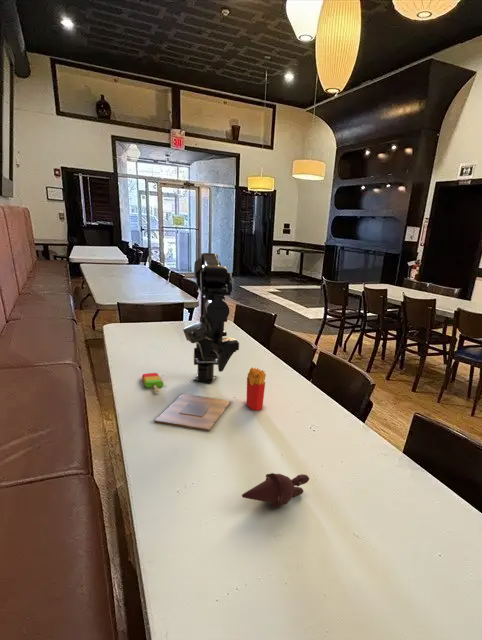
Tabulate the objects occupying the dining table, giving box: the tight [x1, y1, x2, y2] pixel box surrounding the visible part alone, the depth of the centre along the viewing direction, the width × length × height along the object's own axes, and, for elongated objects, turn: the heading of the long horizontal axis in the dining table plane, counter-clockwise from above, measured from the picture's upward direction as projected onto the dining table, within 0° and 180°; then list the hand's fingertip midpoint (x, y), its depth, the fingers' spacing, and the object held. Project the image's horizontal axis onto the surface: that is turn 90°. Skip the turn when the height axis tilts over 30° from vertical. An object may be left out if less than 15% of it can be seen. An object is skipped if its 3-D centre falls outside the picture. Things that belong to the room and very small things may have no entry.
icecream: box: [241, 472, 310, 509], centre depth 85 cm, size 7×7×15 cm
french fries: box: [246, 367, 267, 411], centre depth 127 cm, size 8×4×12 cm, turn 28°
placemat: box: [154, 393, 231, 432], centre depth 123 cm, size 20×16×1 cm
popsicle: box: [141, 372, 164, 393], centre depth 138 cm, size 6×15×2 cm, turn 25°
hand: (212, 366), depth 120 cm, fingers open, 9 cm apart
